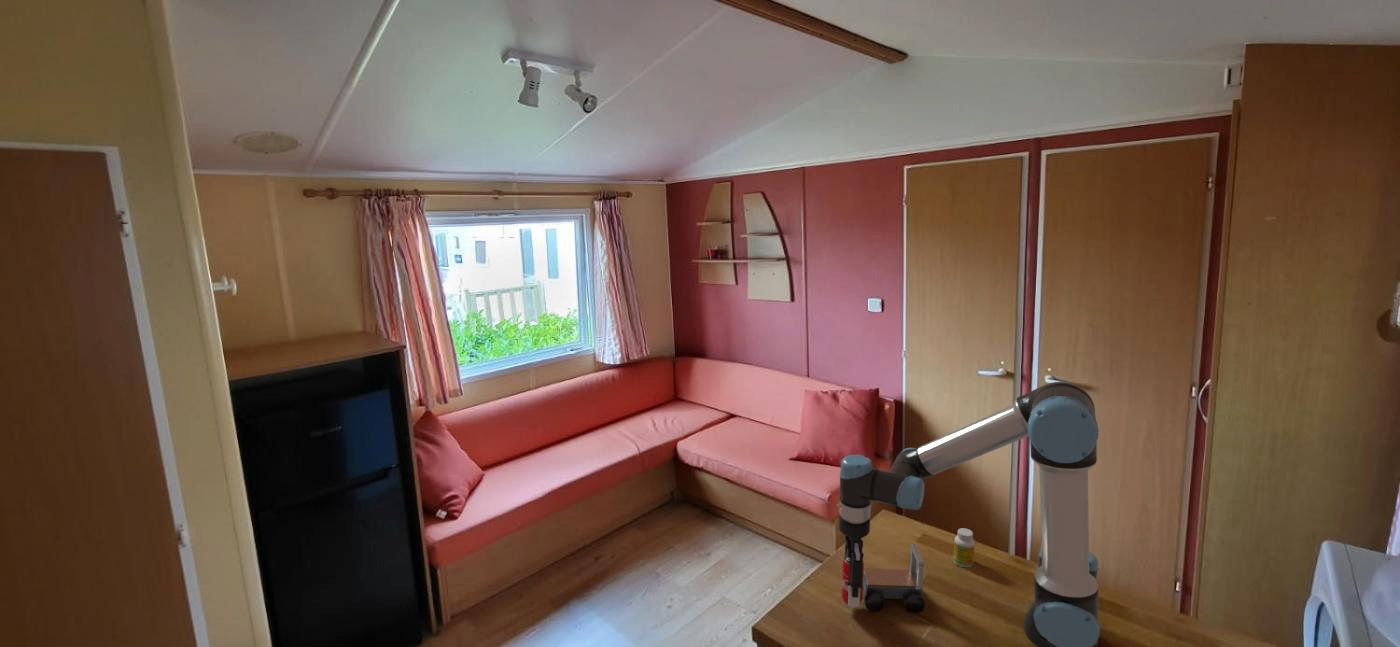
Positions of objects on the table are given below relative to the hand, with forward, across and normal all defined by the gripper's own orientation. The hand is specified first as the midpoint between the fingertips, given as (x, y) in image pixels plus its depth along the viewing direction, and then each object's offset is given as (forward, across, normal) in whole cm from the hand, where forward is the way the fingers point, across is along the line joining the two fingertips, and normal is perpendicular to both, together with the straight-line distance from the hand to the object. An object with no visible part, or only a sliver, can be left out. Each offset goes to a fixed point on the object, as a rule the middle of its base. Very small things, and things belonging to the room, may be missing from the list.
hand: (852, 597), depth 156 cm
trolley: (+3, -4, +11) cm, 12 cm away
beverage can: (+1, 0, 0) cm, 1 cm away
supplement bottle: (+3, -22, +35) cm, 41 cm away
